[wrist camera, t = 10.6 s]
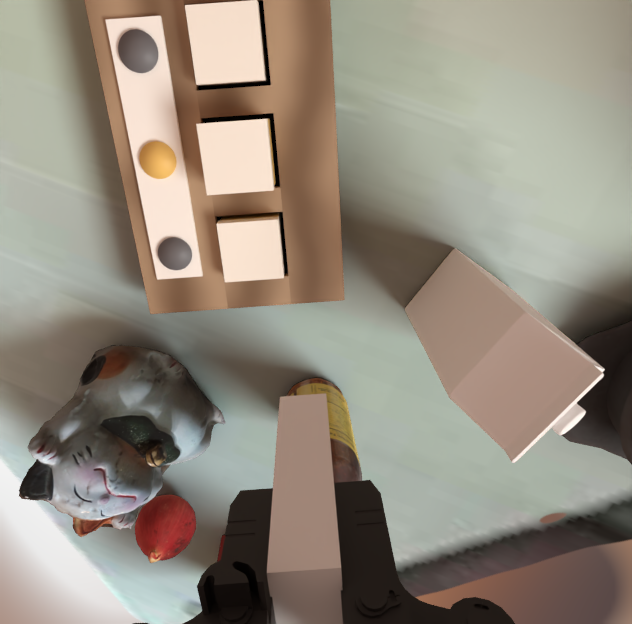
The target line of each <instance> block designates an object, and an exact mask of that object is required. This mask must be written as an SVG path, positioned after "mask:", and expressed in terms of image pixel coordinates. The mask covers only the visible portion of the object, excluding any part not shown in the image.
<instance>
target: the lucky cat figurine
mask: <svg viewBox="0 0 632 624" xmlns="http://www.w3.org/2000/svg"><path fill="white" fill-rule="evenodd" d="M217 423H221V424H225V420H224V417H223V415H222V412H221V411H220V410H219V409H218V408H217V407H216V406H215V405H214V404H212V403H211V402H210V401H209V400H208V399H207V398H206V397H205V396H204V394H203V393H202V392H201V391H200V389H199V388H198V386H197V385H196V383H195V382H194V380H193V379H192V377H191V376H190V374H189V372H188V371H187V369H186V368H185V367H184V366H183V365H182V364H181V363H179V362H178V361H176V360H175V359H173V358H172V357H171V356H170V355H167V354H165V353H162V352H160V351H157V350H151V349H147V348H142V347H135V346H125V345H124V346H123V345H120V346H116V345H113V346H110V347H107V348H104V349H101V350H98V351H96V352H95V354H94V355H93V358H92V360H91V361H90V363H89V364H88V365H87V367H86V369H85V371H84V372H83V375H82V377H81V379H80V383H79V387H78V389H77V392H76V393H75V395H74V397H73V398H72V399H71V400H70V401H69V402H68V403H67V404H66V405H65V406H64V407H63V408H62V409H61V410H59V411H58V412H57V414H56V415H55V416H54V417H53V418H52V419H51V420H49V421H47V422H45V423H44V424H43V426H42V427H41V428H40V430H39V432H38V433H37V434H36V436H34V437H33V438H32V439H31V441H30V443H29V445H28V449H29V452H30V453H31V454H32V456H33V458H35V459H37V460H36V462H35V463H34V465H33V466H32V467H31V468H30V469H29V471H28V472H27V474H26V476H25V478H24V479H23V481H22V484H21V486H20V490H19V491H20V494H19V496H20V497H21V498H22V499H30V500H44V501H47V502H49V503H50V504H52V505H54V506H55V508H56V509H57V510H58V511H60V512H62V513H66V514H68V515H70V516H71V517H73V528H74V530H75V533H76V534H78V535H79V536H80V537H82V536H85V535H87V534H88V533H91V532H92V531H96V530H97V529H98V528H99V527H114V528H117V529H120V530H121V528H129V529H131V526H132V525H133V524H134V522H135V519H136V516H137V512H138V510H139V508H140V507H141V506H142V505H143V504H146V503H147V502H149V501H150V500H151V499H153V498H154V497H155V496H156V494H157V492H159V490H160V489H161V488H162V486H163V479H162V475H163V473H164V472H165V470H166V469H167V468H168V467H169V466H170V465H171V464H176V463H181V462H185V461H188V460H191V459H194V458H196V457H198V456H199V455H201V454H202V453H203V452H204V451H205V450H206V449H207V448H208V446H209V444H210V440H211V433H212V429H213V427H214V425H215V424H217Z"/></svg>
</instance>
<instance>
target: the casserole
mask: <svg viewBox="0 0 632 624" xmlns="http://www.w3.org/2000/svg"><path fill="white" fill-rule="evenodd" d="M577 346H578V347H580V348H581V349H582V350H583V351H584V352H585V353H587V354H588V355H589V356H590V357H591V358H592V359H593V360H595V361H596V362H597V363H598V364H599V365H600V366H602V367H603V368H604V369H605V370H604V371H603V372H602V373H603V374H604V376H603V378H602V379H601V380H600V381H598V382H597V383H596V384H595V385H594V386H593V387H592V388H591V389H590V390H589V391H588V392H587V393H586V394H585V395H584V396H583V397H582V398H581V399H580V400H579V401H578V402H577V404H578V405H579V406H581V407H582V408H583V409H584V410H585V411H586V413H585V415H584V417H583V418H582V419H581V420H580V421H579V422H578V423H577V424H576V425H575V426H574V427H573V428H571V429H570V430H569V431H568V432H566V433H565V434H563V435H562V436H563V437H565V438H566V439H567V440H569V441H570V442H575V443H579V444H584V445H589V446H593V447H598V448H602V449H604V450H606V451H609V452H611V453H613V454H616V455H618V456H621V457H623V458H625V459H628V461H629V462H630V463H631V464H632V320H631V321H629V322H627V323H625V324H623V325H620V326H617V327H614V328H611V329H608V330H606V331H603V332H600V333H597V334H594V335H591V336H588V337H586V338H585V339H584V340H582V341H581V342H580V343H578V344H577Z"/></svg>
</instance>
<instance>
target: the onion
mask: <svg viewBox="0 0 632 624" xmlns="http://www.w3.org/2000/svg"><path fill="white" fill-rule="evenodd" d="M195 529H196V517H195V512H194V510H193V508H192V507H191V506H190V505H189V503H188V502H187V501H185V500H184V499H182V498H181V497H179V496H175V495H161V496H158V497H155V498H153V499H152V500H150V501H149V502H148V503H147V504H146V505H145V506H143V507H142V509H141V511H140V513H139V515H138V518H137V520H136V524H135V535H136V541H137V543H138V545H139V547H140V548H141V550H142V552H143V553H144V554H145V555H147V556H148V559H149V561H150V563H153V562H156V561H159V560H167V559H170V558H173V557H175V556H176V555H177V554H179V553H180V552H181V551H183V550H184V549H185V548H186V547H187V546H188V544H189V543H190V541H191V538H192V536H193V534H194V532H195Z"/></svg>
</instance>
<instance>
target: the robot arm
mask: <svg viewBox="0 0 632 624" xmlns="http://www.w3.org/2000/svg"><path fill="white" fill-rule="evenodd" d="M197 588H198V593H199V597H200V602H201V606H202V612H201V613H200V614H198V615H197V616H196V617H194V618H193V619H191V620H189V621H187V622H185V623H183V624H515V623H514V622H513V620H512V619H511V617H510V616H509V615H508V614H506V612H505V611H504V610H503V609H502V608H501V607H499V606H498V605H496V604H494V603H493V602H491V601H489V600H485V599H481V598H476V597H473V598H464V599H462V600H460V601H458V602H457V603H455V604H453V606H452V607H451V609H446V608H442V607H438V606H434V605H430V604H427V603H425V602H422V601H420V600H418V599H417V598H415V597H413V596H412V595H411V594H410V593H409V592H408V591H406V590H405V588H404V587H403V585H402V584H401V582H400V581H399V578H398V575H397V571H396V566H395V562H394V557H393V552H392V547H391V542H390V537H389V532H388V527H387V523H386V518H385V513H384V508H383V503H382V498H381V493H380V492H379V491H378V490H377V488H376V487H375V486H374V484H373V483H372V482H371V481H370V480H365V481H351V482H337V483H334V478H333V467H332V455H331V443H330V432H329V420H328V409H327V397H326V393H325V394H311V395H297V396H283V397H280V402H279V415H278V428H277V442H276V455H275V469H274V482H273V488H271V489H257V490H243V491H240V492H239V494H238V495H237V497H236V498H235V500H234V501H233V502H232V504H231V505H230V511H229V516H228V525H227V528H226V533H225V539H224V544H223V550H222V556H221V560H220V561H218V562H216V563H214V564H213V565H211V566H210V567H209V568H208V569H207V570H206V571H205V572H204V573H203V575H202V576H201V578H200V581H199V583H198V585H197ZM134 624H148V623H134Z"/></svg>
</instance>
